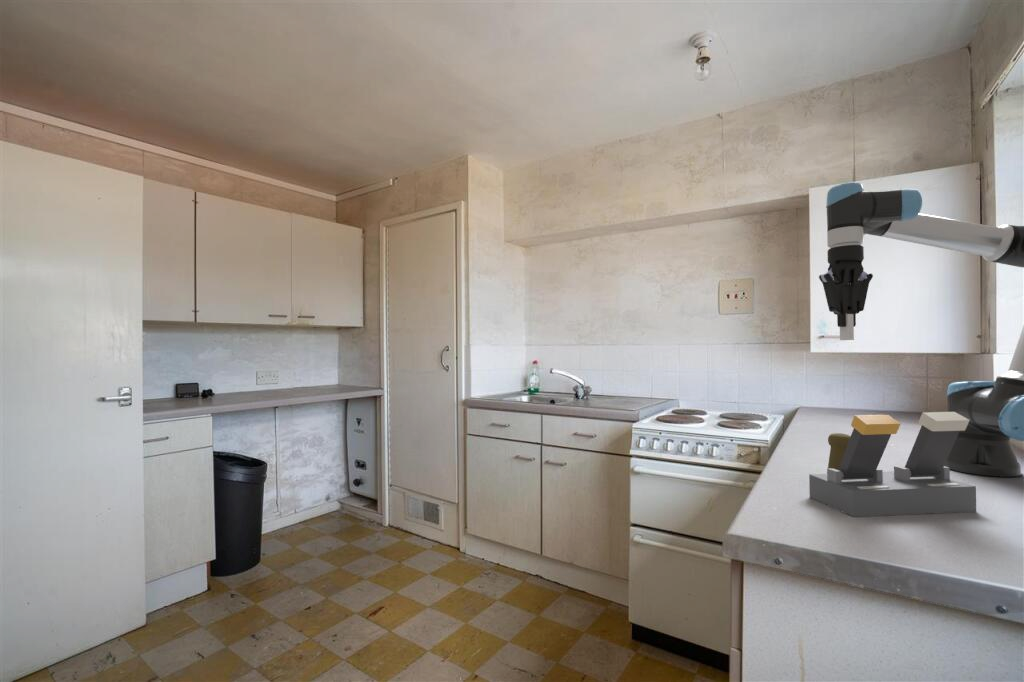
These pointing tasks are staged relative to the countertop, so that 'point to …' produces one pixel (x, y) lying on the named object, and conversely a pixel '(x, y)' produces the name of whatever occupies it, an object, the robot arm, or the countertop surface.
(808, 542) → the countertop surface
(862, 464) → the amber lever
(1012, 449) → the robot arm
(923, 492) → the switch block
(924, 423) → the cream lever
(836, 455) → the cork
